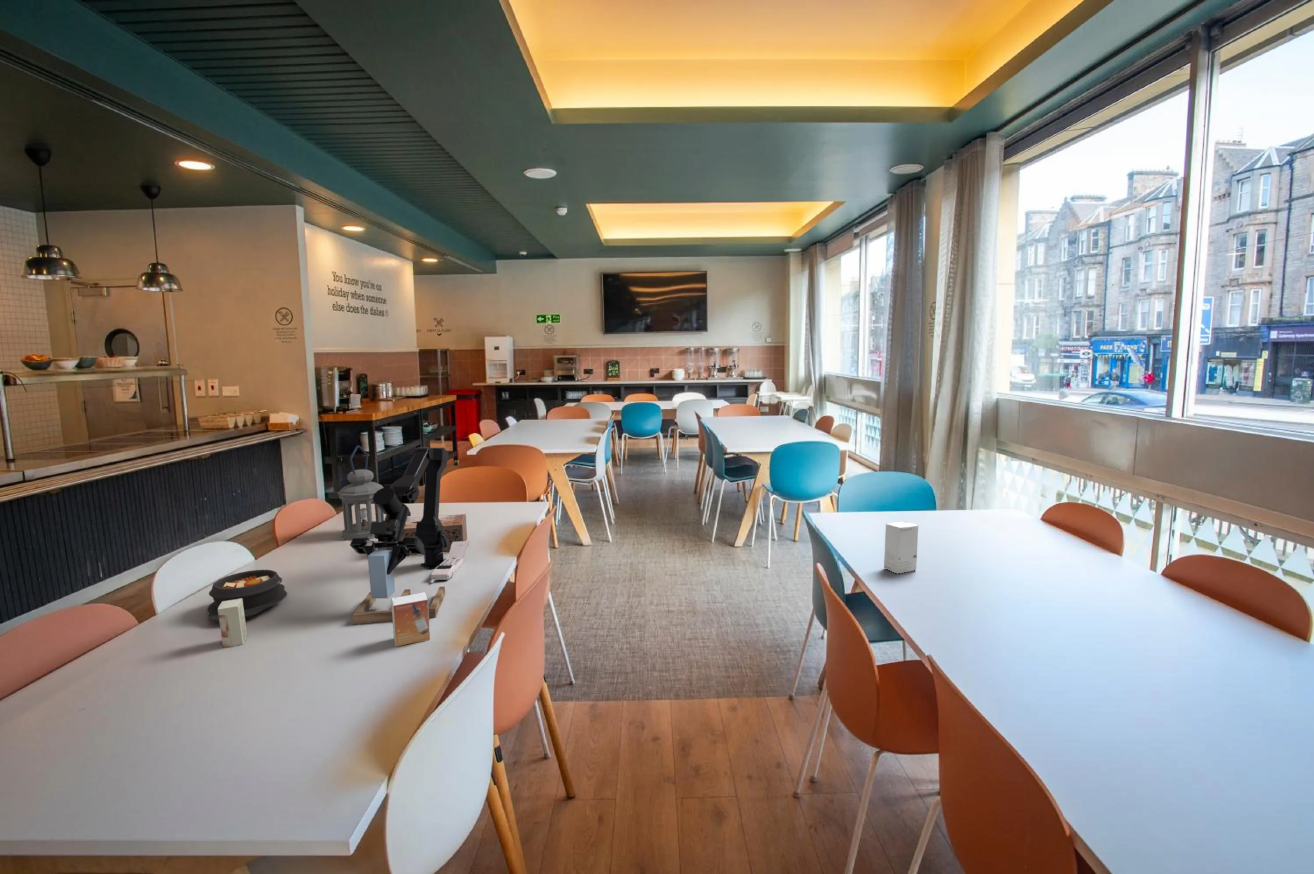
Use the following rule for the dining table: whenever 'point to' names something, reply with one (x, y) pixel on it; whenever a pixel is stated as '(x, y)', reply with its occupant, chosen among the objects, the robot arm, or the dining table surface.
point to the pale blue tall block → (380, 574)
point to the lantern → (356, 494)
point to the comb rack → (386, 615)
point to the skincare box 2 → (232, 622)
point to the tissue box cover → (451, 527)
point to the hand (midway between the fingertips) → (379, 573)
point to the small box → (410, 619)
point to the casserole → (247, 591)
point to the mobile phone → (451, 562)
